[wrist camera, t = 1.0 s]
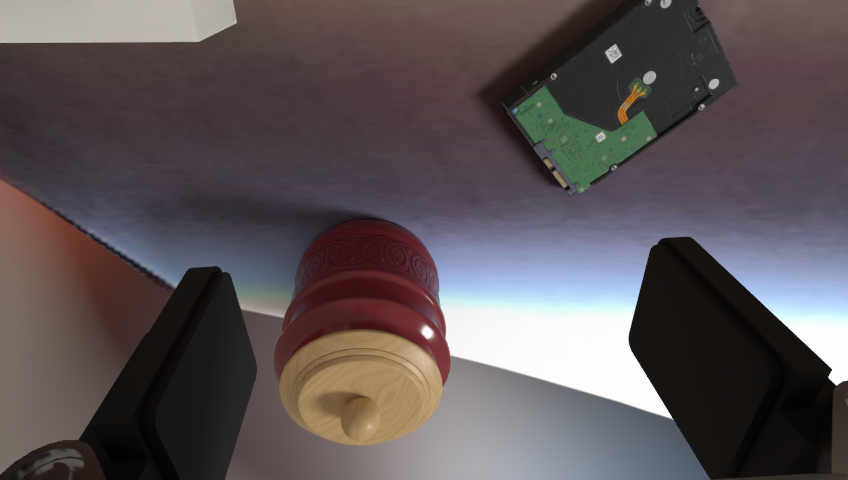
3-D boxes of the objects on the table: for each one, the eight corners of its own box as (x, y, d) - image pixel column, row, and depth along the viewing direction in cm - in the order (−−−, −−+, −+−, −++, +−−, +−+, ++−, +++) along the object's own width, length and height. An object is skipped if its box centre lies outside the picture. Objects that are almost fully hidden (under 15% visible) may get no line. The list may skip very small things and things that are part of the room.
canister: (396, 190, 41) (401, 330, 26) (459, 295, 47) (492, 455, 32) (270, 252, 44) (208, 413, 28) (346, 344, 50) (328, 515, 35)
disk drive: (663, -38, 34) (496, 102, 38) (685, -37, 32) (504, 112, 36) (719, 75, 38) (564, 189, 43) (742, 84, 36) (575, 203, 40)
